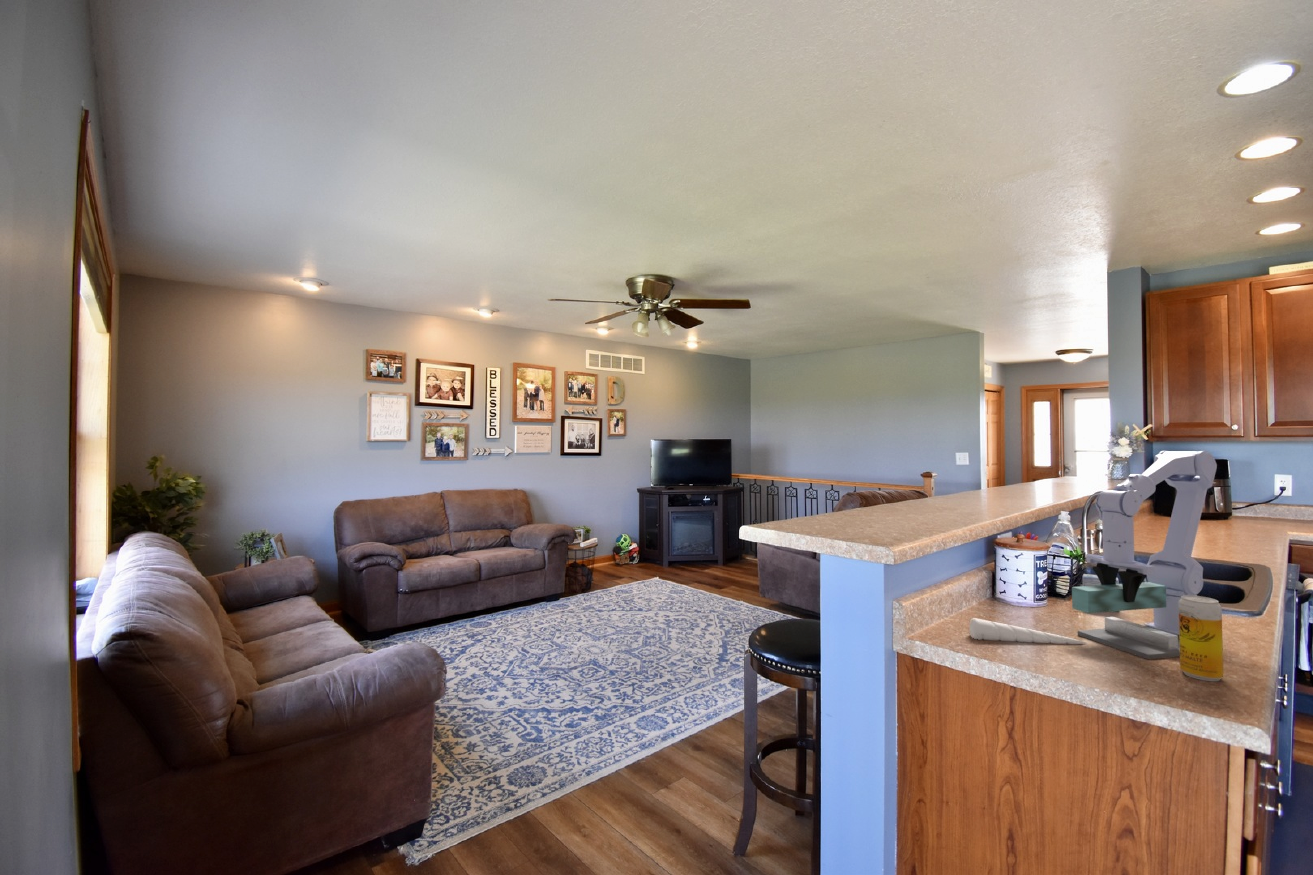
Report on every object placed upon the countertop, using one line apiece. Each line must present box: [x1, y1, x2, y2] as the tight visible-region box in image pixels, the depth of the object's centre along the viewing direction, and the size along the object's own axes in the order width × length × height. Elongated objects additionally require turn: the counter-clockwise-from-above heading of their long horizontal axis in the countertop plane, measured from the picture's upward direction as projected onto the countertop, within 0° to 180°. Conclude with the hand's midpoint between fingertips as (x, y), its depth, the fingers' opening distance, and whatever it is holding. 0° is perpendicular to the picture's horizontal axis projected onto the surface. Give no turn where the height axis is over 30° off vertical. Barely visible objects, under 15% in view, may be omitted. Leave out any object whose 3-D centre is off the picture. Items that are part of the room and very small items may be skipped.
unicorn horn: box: [969, 617, 1087, 645], centre depth 130 cm, size 5×24×5 cm, turn 73°
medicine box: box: [1081, 573, 1120, 612], centre depth 157 cm, size 8×4×9 cm, turn 52°
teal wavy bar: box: [1071, 581, 1166, 614], centre depth 133 cm, size 22×4×5 cm, turn 101°
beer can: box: [1178, 595, 1224, 682], centre depth 110 cm, size 6×6×15 cm
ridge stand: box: [1077, 616, 1180, 660], centre depth 128 cm, size 16×16×4 cm
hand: (1119, 599), depth 133 cm, fingers closed on teal wavy bar, 4 cm apart
